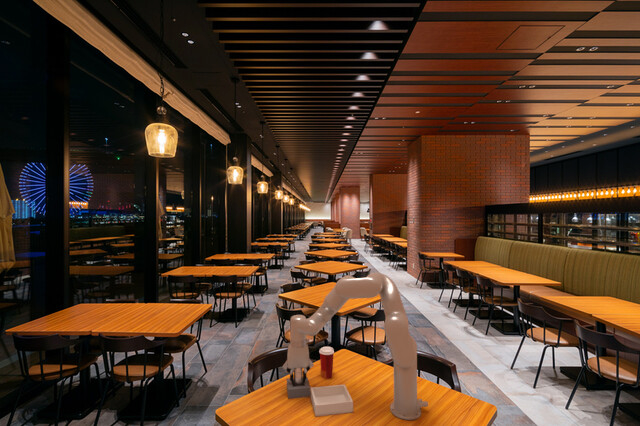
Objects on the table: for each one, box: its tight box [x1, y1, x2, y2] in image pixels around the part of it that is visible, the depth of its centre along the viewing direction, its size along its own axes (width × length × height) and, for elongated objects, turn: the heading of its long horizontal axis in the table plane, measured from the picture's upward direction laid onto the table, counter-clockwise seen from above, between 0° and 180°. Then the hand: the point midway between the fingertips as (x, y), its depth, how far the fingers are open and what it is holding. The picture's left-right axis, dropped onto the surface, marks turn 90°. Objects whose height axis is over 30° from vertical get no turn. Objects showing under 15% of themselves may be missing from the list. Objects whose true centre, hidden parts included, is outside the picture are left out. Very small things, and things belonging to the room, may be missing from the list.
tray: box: [310, 384, 354, 417], centre depth 137 cm, size 16×14×4 cm
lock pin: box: [293, 368, 303, 387], centre depth 147 cm, size 4×4×12 cm
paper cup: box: [318, 346, 335, 380], centre depth 162 cm, size 8×8×14 cm
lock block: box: [286, 376, 311, 400], centre depth 147 cm, size 10×10×4 cm
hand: (298, 381), depth 147 cm, fingers open, 4 cm apart
